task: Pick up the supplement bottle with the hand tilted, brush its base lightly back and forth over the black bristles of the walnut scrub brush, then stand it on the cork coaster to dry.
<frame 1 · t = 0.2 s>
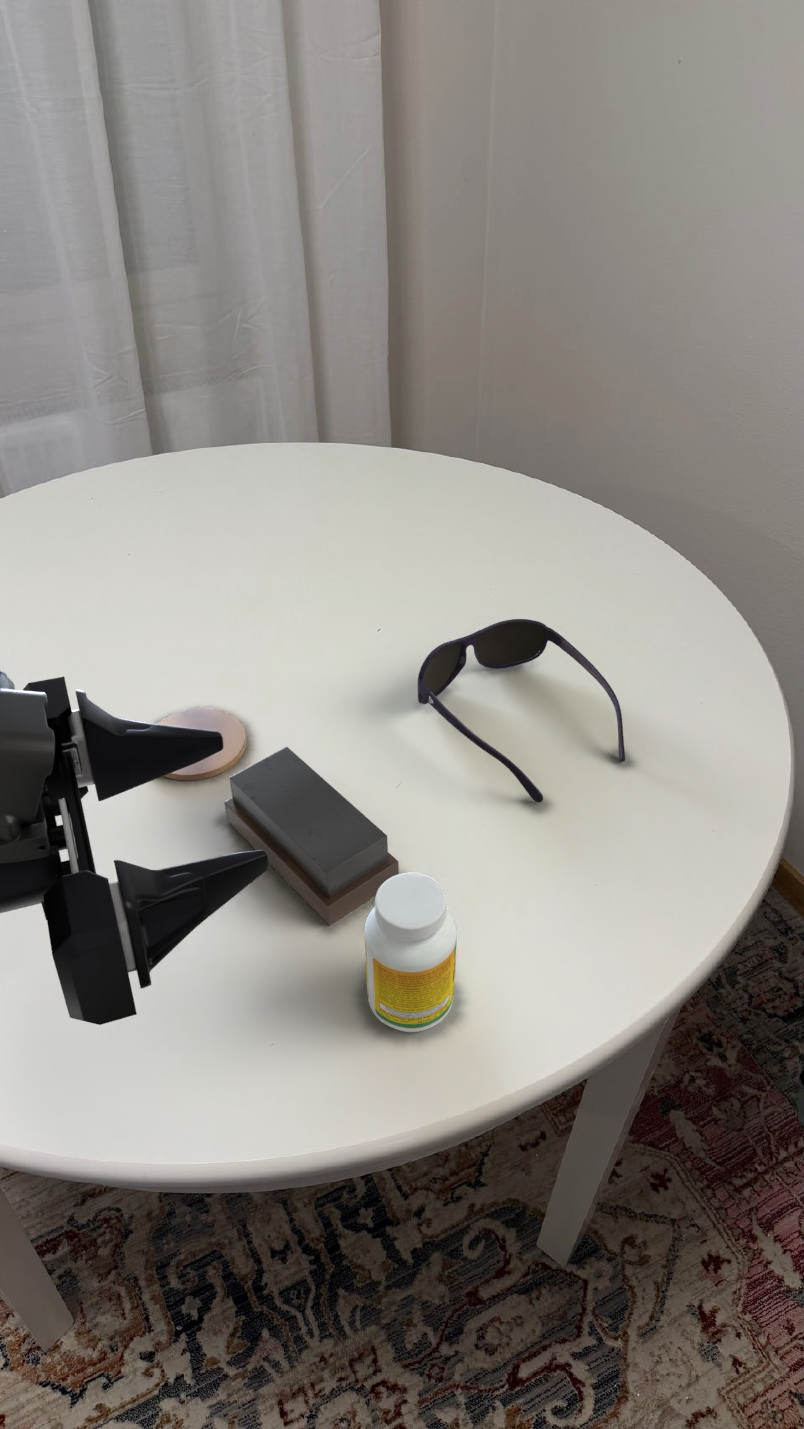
hand: (243, 796, 52), 17 cm above the table, tool horizontal, fingers open, 9 cm apart
supplement bottle: (411, 999, 62), on the table
cork coaster: (196, 745, 80), on the table
scrub brush: (310, 849, 72), on the table
sunglasses: (522, 728, 82), on the table
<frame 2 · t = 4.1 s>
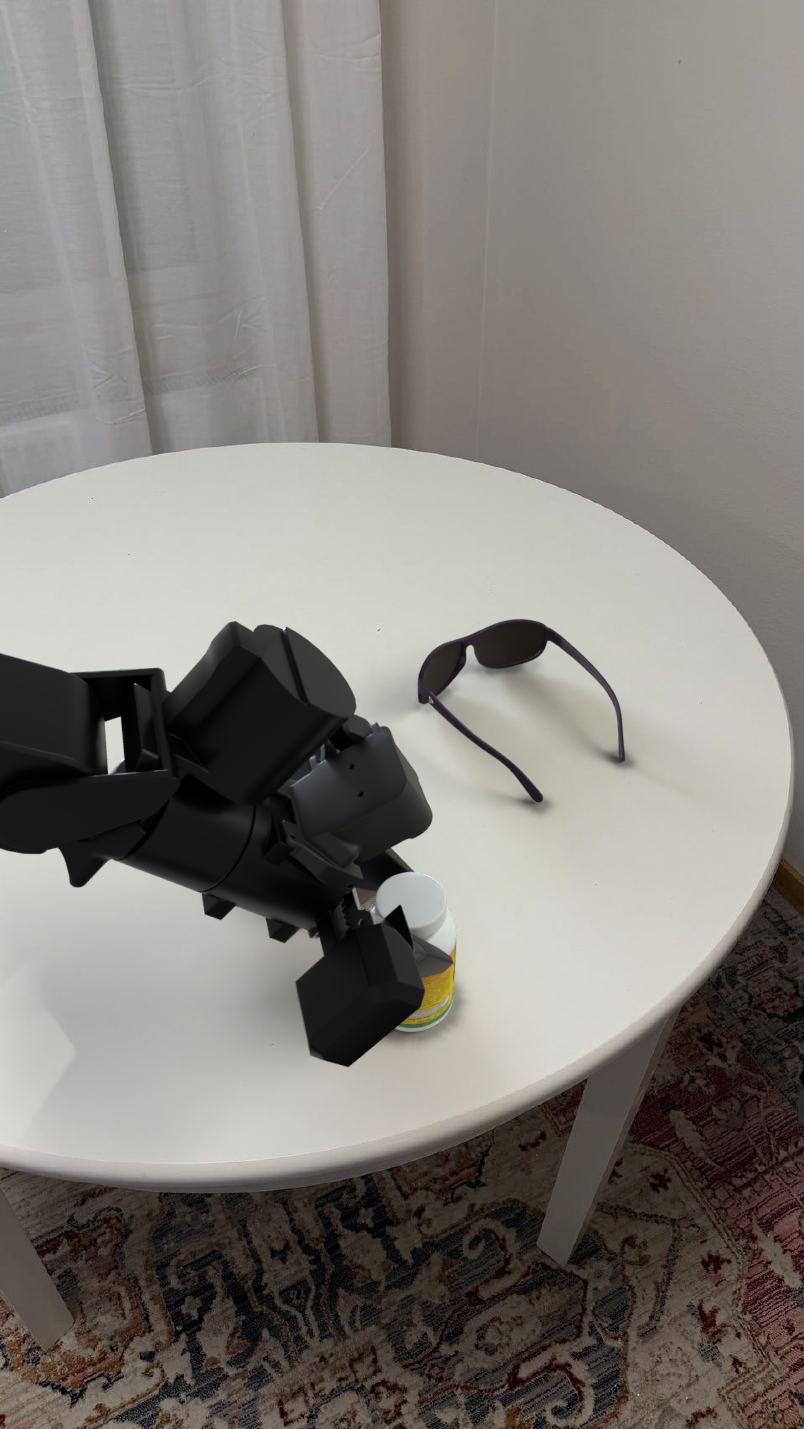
hand: (433, 926, 58), 7 cm above the table, tool tilted 45°, fingers closed on supplement bottle, 5 cm apart
supplement bottle: (411, 999, 62), on the table, touching gripper
everything else where it was.
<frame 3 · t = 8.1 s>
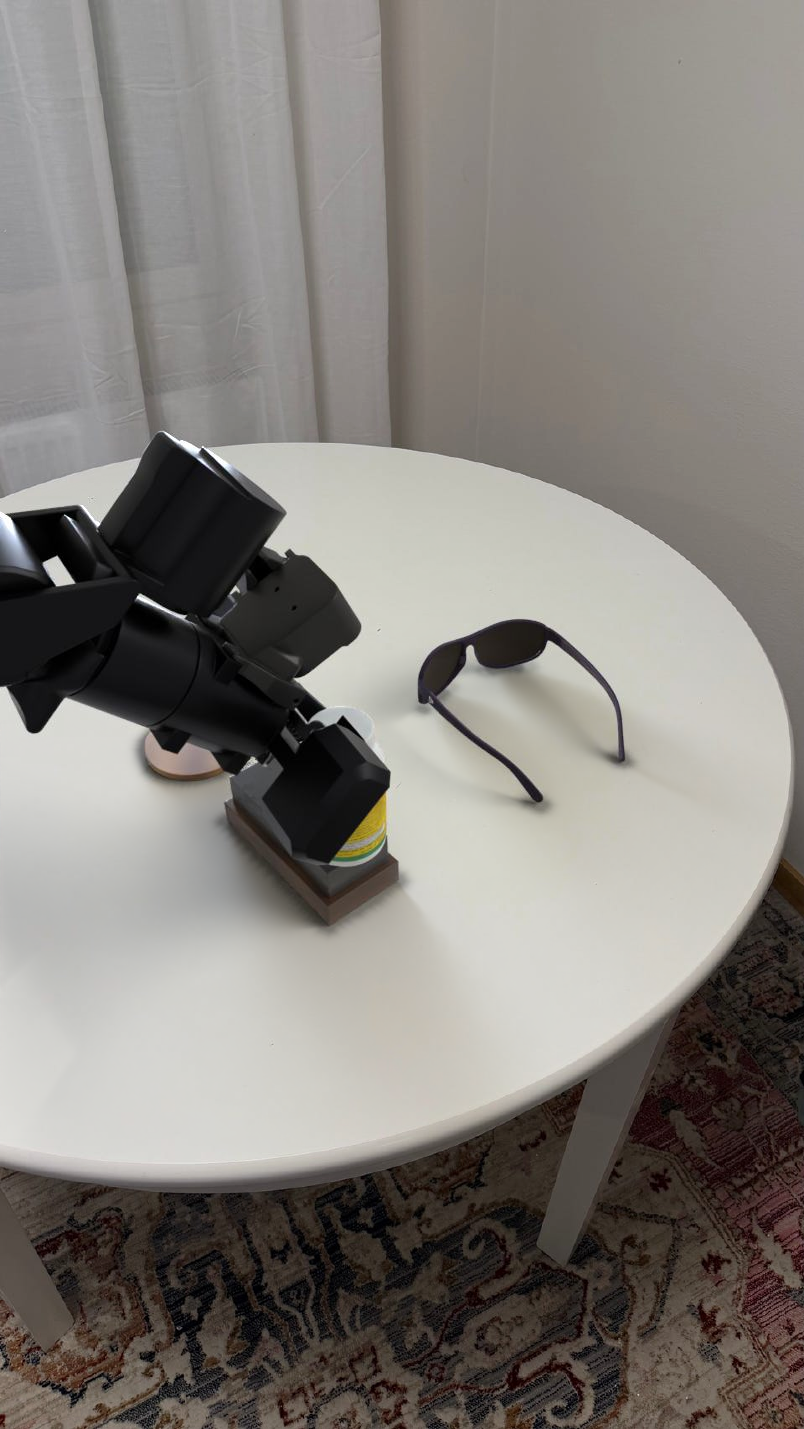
hand: (361, 756, 61), 12 cm above the table, tool tilted 45°, fingers closed on supplement bottle, 5 cm apart
supplement bottle: (345, 840, 65), point 5 cm above the table, touching gripper
everything else where it was.
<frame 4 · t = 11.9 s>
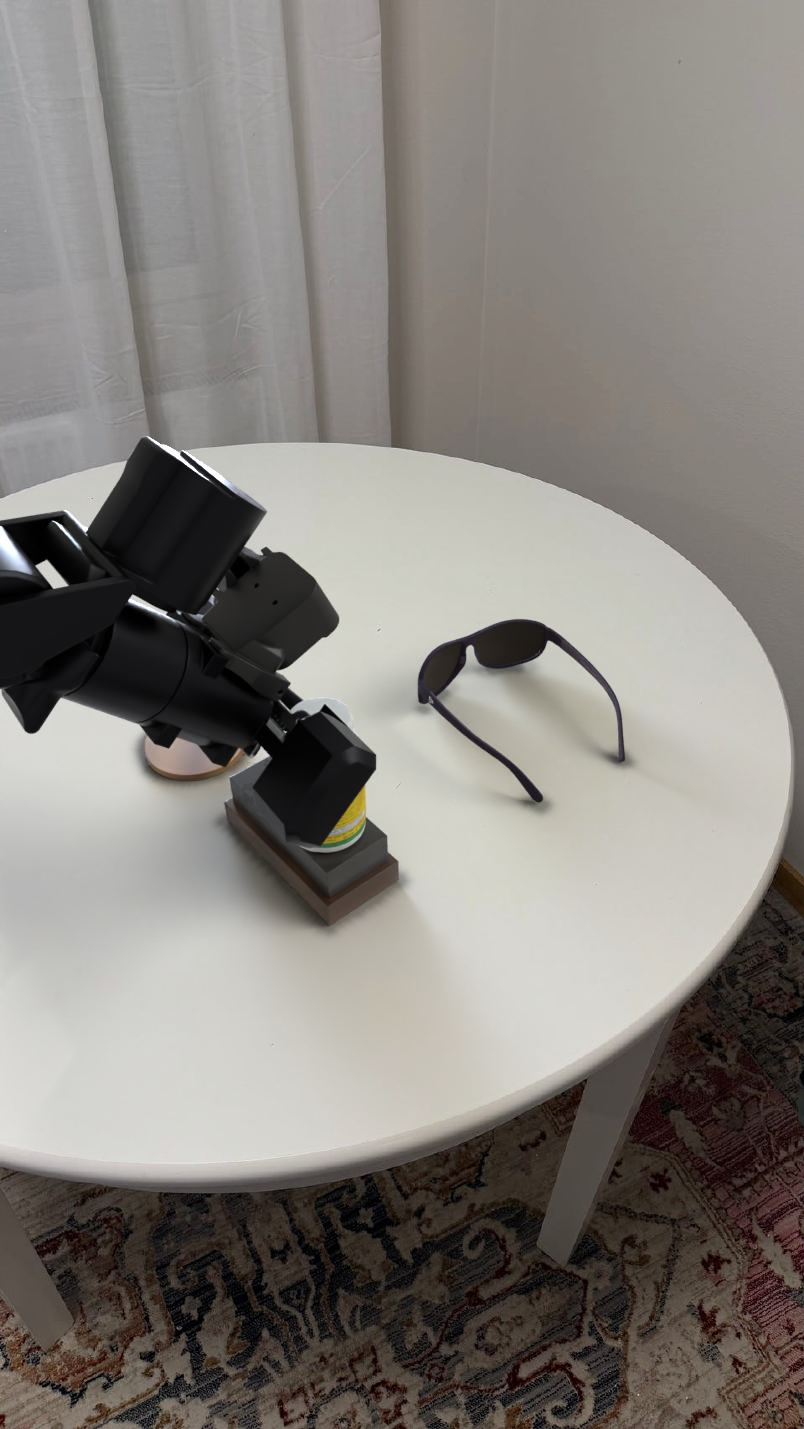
hand: (340, 745, 63), 11 cm above the table, tool tilted 45°, fingers closed on supplement bottle, 5 cm apart
supplement bottle: (326, 828, 67), point 4 cm above the table, touching gripper
everything else where it was.
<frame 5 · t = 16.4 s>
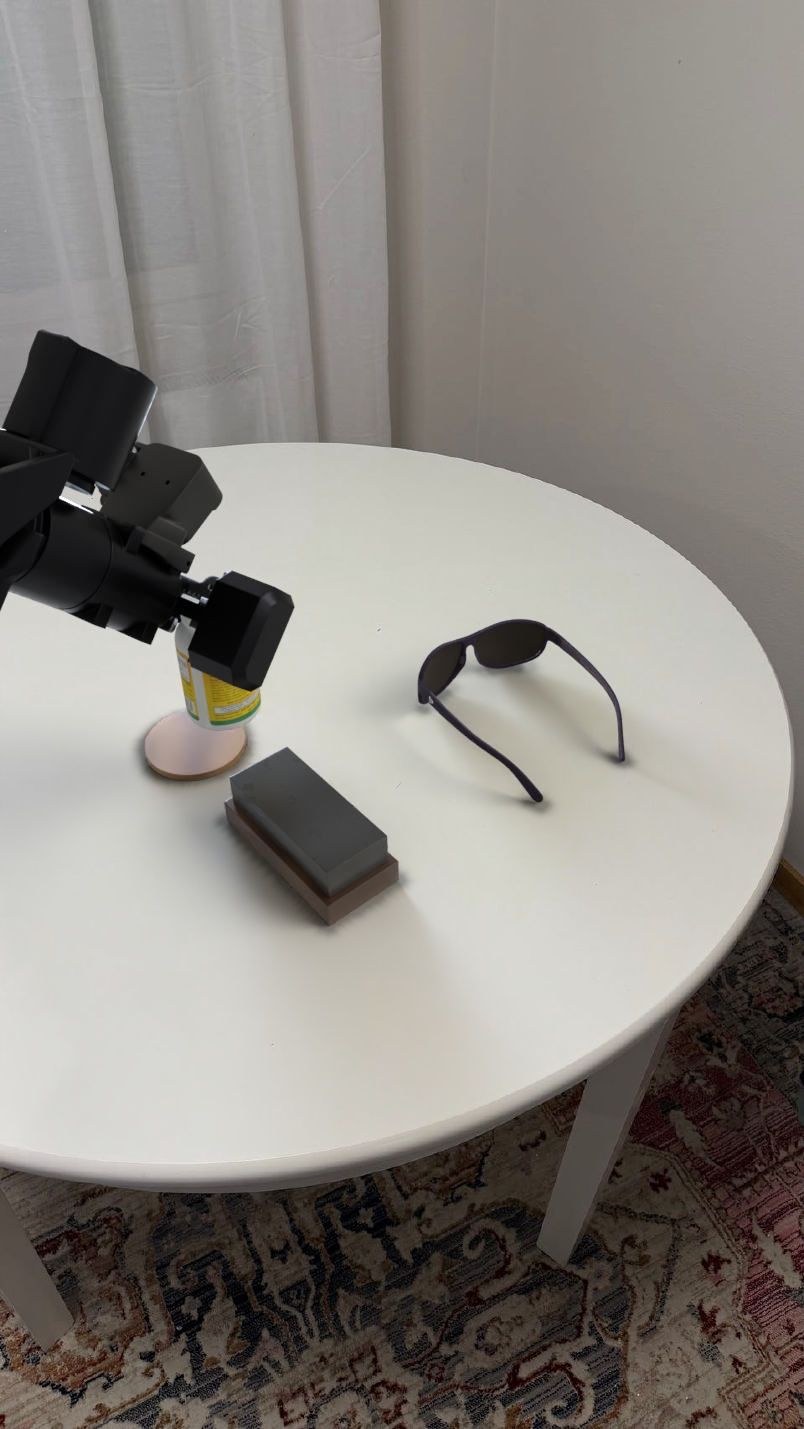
hand: (227, 626, 70), 13 cm above the table, tool tilted 45°, fingers closed on supplement bottle, 5 cm apart
supplement bottle: (225, 711, 73), point 7 cm above the table, touching gripper
everything else where it was.
when the fingers open (7 cm above the table, at t = 20.1 s): supplement bottle stays where it is, resting on cork coaster.
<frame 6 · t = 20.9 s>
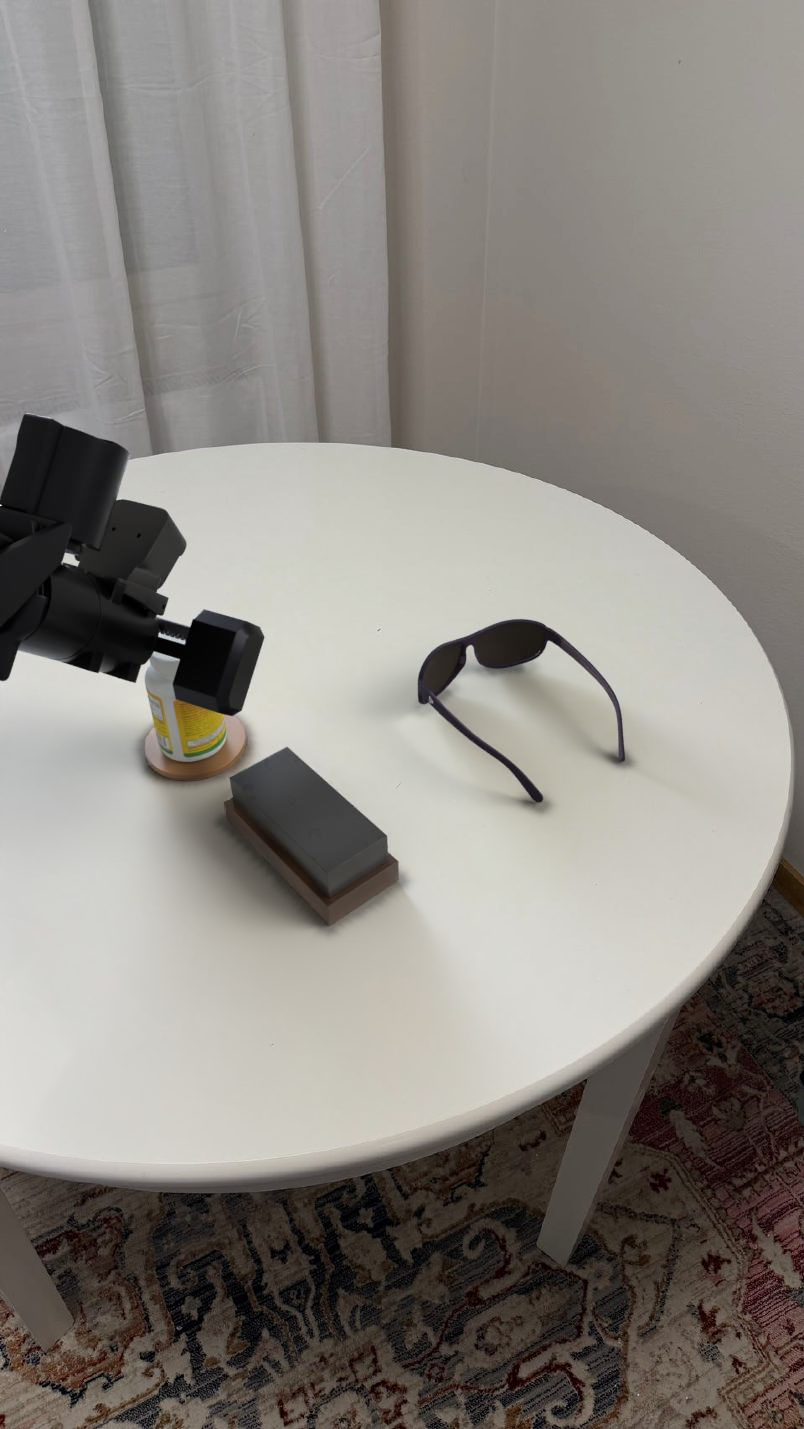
hand: (191, 657, 76), 8 cm above the table, tool tilted 45°, fingers open, 9 cm apart
supplement bottle: (194, 743, 80), resting on cork coaster
everything else where it was.
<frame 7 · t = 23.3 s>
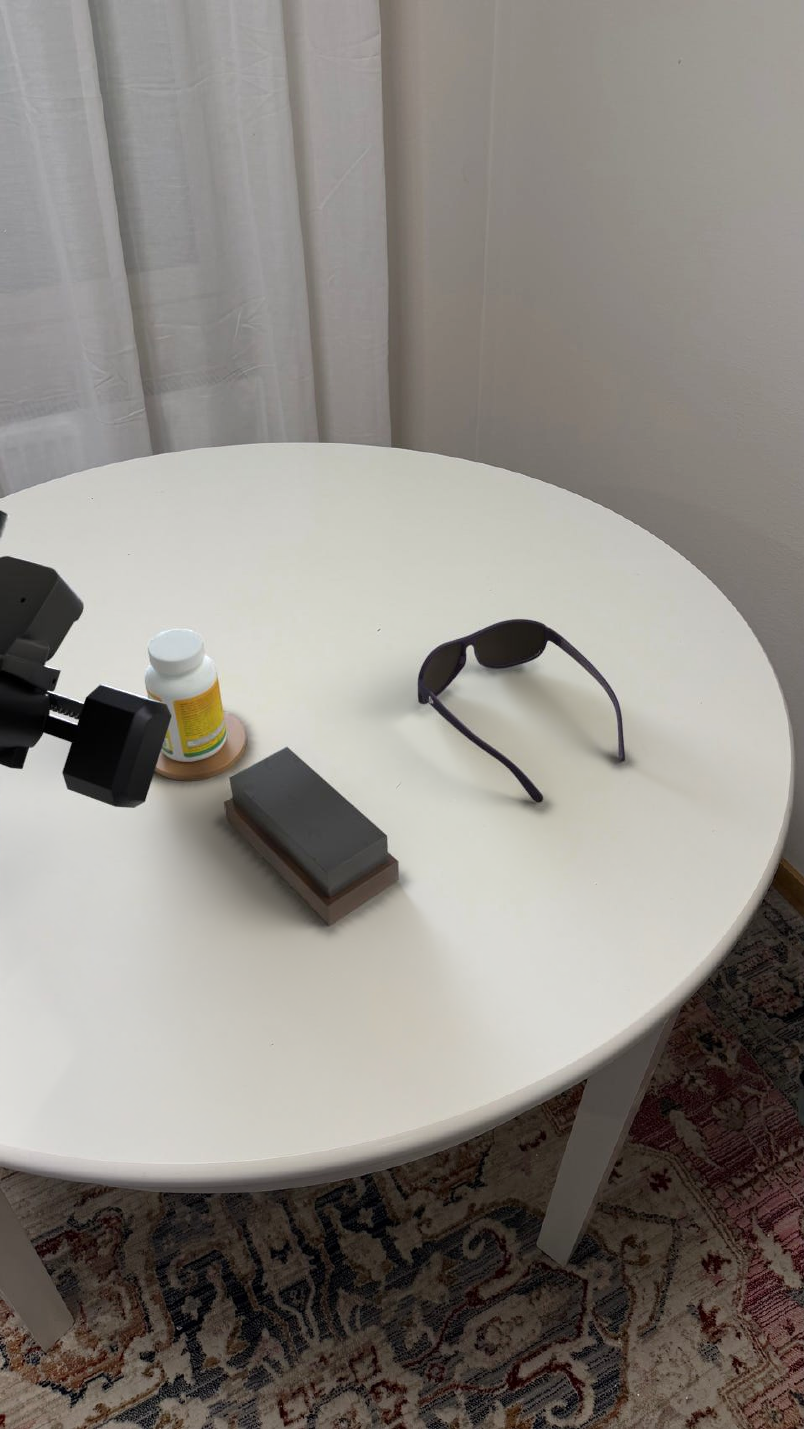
hand: (102, 727, 67), 10 cm above the table, tool tilted 45°, fingers open, 9 cm apart
nothing on the table moved.
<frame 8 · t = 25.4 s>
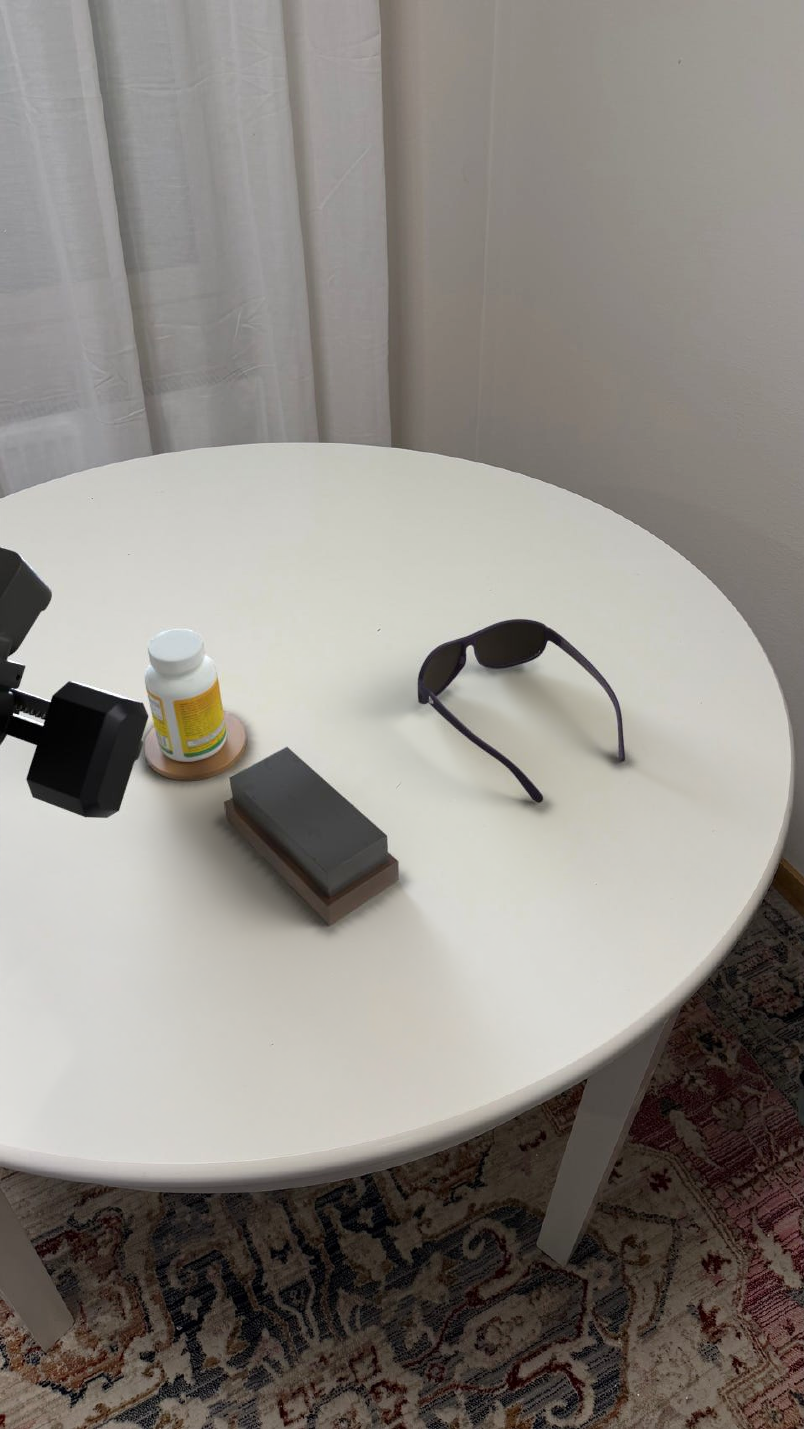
hand: (77, 728, 61), 14 cm above the table, tool tilted 45°, fingers open, 9 cm apart
nothing on the table moved.
at the end: supplement bottle 0.1 cm off-centre on the cork coaster, point 0.4 cm above the cork coaster's base; supplement bottle tilted 0°; the gripper is holding nothing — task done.
